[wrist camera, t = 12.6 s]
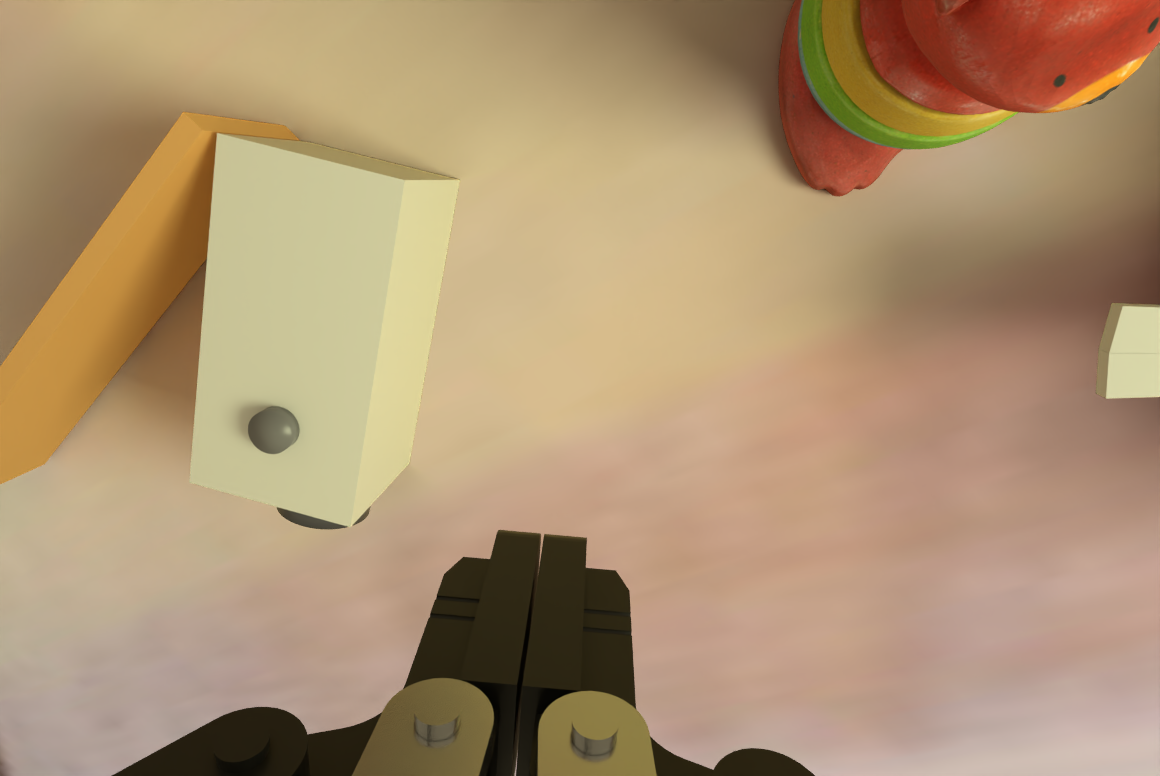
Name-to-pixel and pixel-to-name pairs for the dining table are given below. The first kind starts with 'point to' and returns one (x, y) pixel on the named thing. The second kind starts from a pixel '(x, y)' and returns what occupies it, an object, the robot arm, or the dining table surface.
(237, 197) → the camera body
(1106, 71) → the stacking bear
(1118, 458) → the dining table surface
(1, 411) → the side door
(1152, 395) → the decorative object
